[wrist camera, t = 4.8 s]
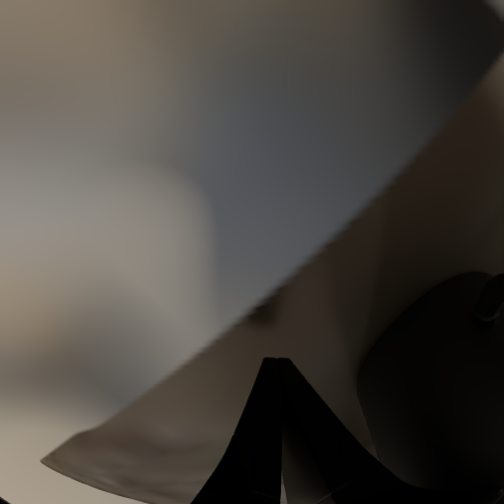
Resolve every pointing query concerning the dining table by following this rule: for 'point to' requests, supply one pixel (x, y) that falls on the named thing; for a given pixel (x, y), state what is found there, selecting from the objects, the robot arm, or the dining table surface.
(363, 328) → the dining table surface
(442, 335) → the mug
